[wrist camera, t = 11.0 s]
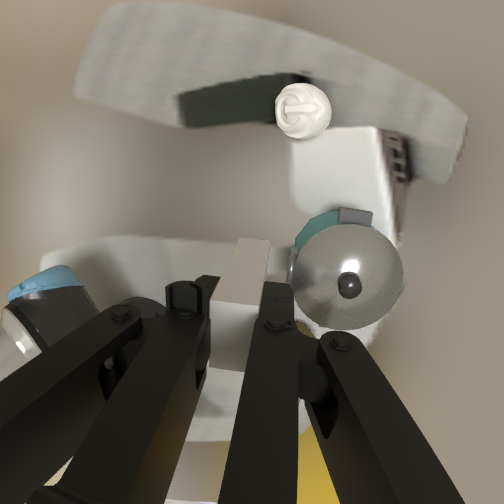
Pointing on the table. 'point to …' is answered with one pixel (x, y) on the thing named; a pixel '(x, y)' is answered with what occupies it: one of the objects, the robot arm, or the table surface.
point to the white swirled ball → (302, 111)
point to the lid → (346, 276)
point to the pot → (331, 224)
